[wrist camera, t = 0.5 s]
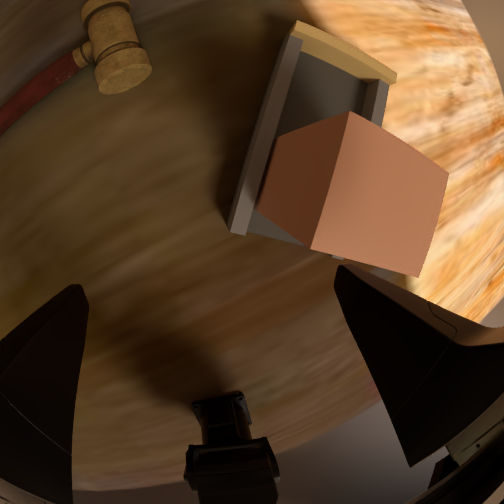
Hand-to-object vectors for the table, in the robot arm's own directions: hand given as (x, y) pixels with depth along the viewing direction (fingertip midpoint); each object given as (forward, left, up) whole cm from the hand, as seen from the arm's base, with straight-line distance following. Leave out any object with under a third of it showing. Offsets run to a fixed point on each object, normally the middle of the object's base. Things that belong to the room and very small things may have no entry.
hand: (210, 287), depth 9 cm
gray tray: (+5, -10, -15) cm, 19 cm away
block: (+1, -9, -14) cm, 16 cm away
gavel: (+16, +13, -15) cm, 26 cm away
